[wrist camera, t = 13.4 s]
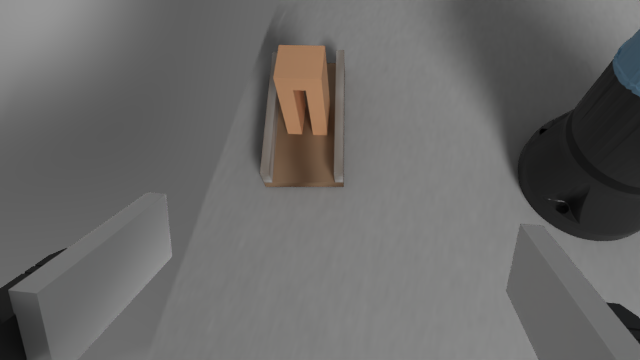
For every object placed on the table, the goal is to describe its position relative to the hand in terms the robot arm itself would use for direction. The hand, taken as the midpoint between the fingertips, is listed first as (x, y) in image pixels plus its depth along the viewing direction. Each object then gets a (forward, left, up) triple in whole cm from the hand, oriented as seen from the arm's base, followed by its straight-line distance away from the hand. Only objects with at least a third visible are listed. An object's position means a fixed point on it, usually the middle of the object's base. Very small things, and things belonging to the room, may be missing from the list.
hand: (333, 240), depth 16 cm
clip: (+5, -25, -30) cm, 40 cm away
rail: (+5, -26, -32) cm, 41 cm away
